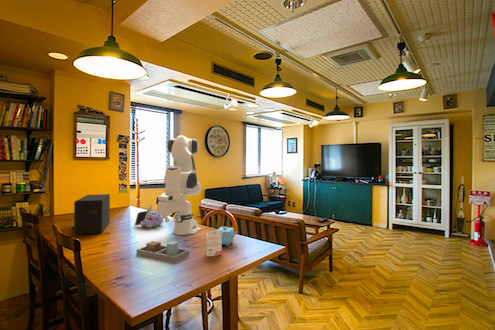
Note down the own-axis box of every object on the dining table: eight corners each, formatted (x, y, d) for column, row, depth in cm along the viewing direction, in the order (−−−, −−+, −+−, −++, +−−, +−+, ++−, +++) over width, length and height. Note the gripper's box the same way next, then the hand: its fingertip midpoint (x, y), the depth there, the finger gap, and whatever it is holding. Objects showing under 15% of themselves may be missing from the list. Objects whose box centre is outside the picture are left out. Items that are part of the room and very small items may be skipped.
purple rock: (171, 220, 210) (165, 201, 215) (149, 224, 192) (142, 203, 197) (157, 230, 219) (151, 211, 224) (135, 234, 201) (129, 214, 206)
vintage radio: (83, 224, 213) (84, 194, 212) (110, 222, 219) (110, 193, 219) (70, 236, 177) (70, 201, 177) (101, 234, 184) (102, 200, 184)
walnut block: (152, 251, 150) (152, 241, 150) (160, 252, 147) (160, 242, 147) (146, 253, 145) (146, 243, 145) (154, 255, 143) (154, 245, 143)
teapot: (234, 248, 157) (234, 230, 157) (206, 246, 161) (206, 228, 161) (239, 241, 173) (240, 224, 173) (214, 239, 176) (215, 223, 176)
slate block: (171, 255, 144) (172, 241, 144) (178, 256, 142) (178, 242, 142) (166, 257, 140) (166, 243, 140) (173, 259, 138) (173, 244, 138)
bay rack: (152, 249, 155) (152, 243, 154) (188, 256, 144) (188, 250, 144) (136, 255, 143) (136, 249, 143) (175, 263, 133) (175, 257, 133)
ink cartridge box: (220, 252, 150) (220, 227, 150) (221, 255, 146) (222, 230, 145) (205, 253, 148) (206, 228, 148) (206, 256, 143) (207, 231, 143)
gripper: (180, 193, 151) (180, 215, 152) (155, 197, 133) (155, 223, 133) (189, 193, 149) (188, 217, 149) (165, 198, 130) (164, 225, 130)
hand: (172, 220), depth 141 cm, fingers open, 8 cm apart
